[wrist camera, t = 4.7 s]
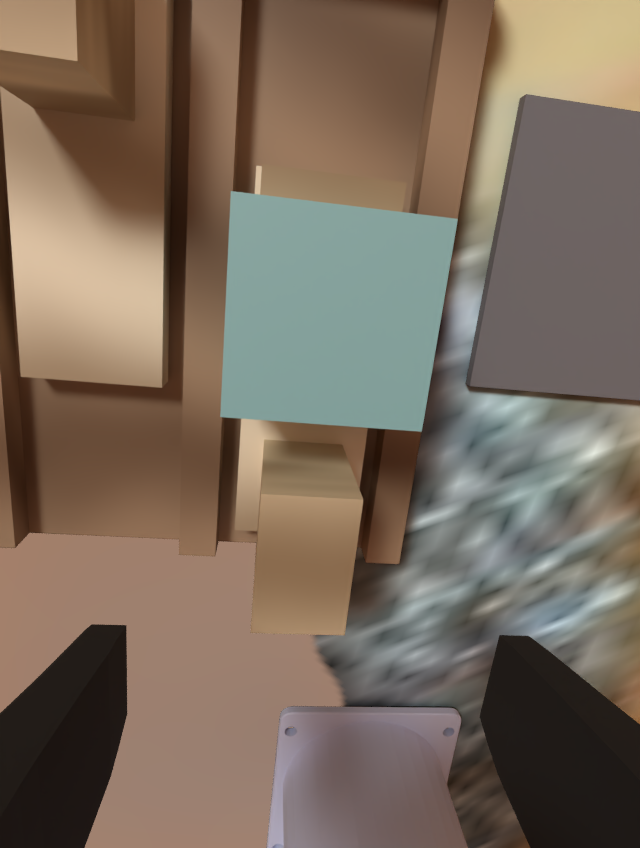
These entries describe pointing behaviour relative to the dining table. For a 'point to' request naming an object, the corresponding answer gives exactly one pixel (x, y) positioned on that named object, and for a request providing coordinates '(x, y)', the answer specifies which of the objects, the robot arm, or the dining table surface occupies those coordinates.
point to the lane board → (208, 256)
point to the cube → (332, 312)
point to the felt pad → (565, 256)
